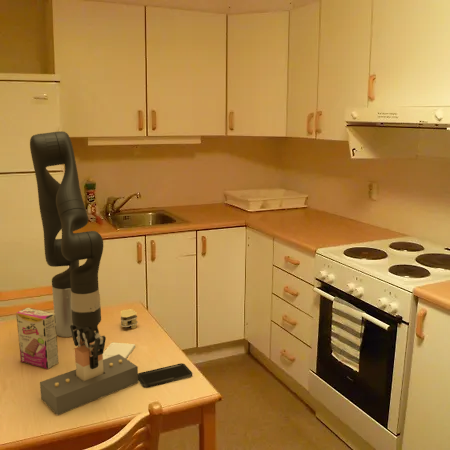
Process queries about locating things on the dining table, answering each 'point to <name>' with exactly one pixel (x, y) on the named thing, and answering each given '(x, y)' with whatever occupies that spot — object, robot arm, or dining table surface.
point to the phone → (164, 375)
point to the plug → (86, 364)
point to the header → (88, 385)
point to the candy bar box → (37, 337)
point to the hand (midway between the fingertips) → (89, 364)
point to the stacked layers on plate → (128, 318)
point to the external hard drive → (118, 350)
